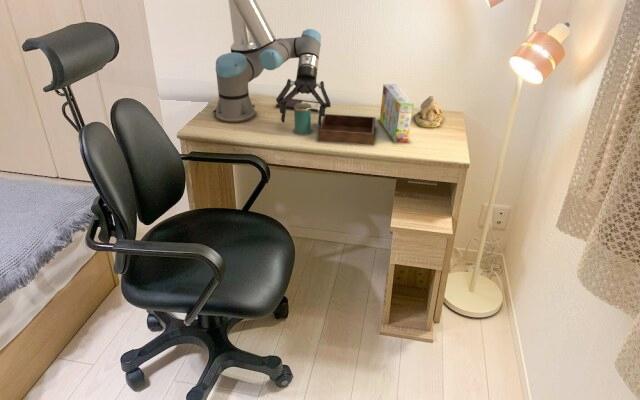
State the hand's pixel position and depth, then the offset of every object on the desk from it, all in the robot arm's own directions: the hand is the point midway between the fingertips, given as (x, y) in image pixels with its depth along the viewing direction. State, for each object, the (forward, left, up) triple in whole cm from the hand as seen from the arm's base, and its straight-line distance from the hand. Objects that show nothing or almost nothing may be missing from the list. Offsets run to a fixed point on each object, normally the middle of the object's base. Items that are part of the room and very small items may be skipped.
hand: (300, 122), depth 176 cm
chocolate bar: (-5, +27, -5) cm, 28 cm away
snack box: (+34, +8, -5) cm, 35 cm away
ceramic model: (+48, +20, -5) cm, 52 cm away
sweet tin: (0, +2, -4) cm, 5 cm away
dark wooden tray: (+17, +2, -4) cm, 18 cm away
